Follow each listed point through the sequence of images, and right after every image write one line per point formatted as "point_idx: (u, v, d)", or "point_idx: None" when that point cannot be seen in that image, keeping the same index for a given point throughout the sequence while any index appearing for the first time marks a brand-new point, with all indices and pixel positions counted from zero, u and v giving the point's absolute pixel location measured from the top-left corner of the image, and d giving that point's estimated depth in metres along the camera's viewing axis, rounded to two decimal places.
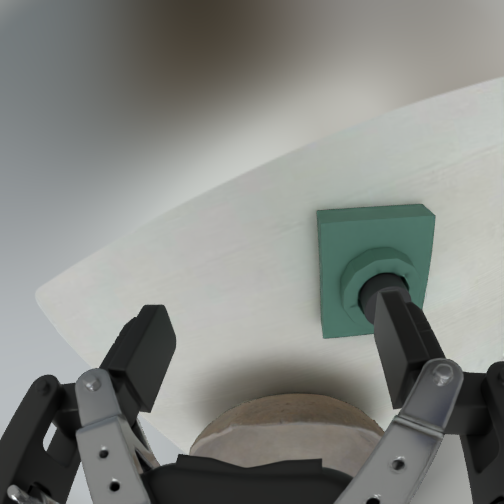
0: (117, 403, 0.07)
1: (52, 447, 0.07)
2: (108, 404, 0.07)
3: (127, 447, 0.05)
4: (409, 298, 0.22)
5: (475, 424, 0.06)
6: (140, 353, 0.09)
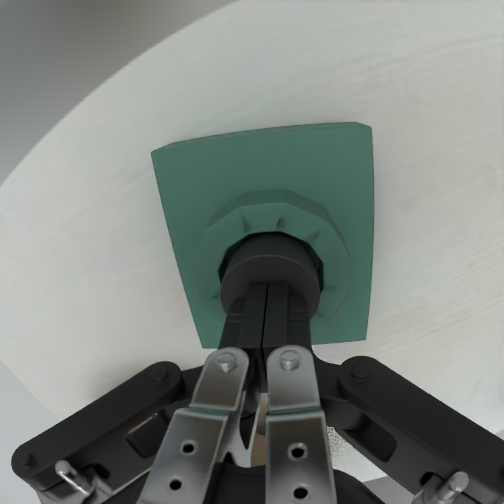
0: (239, 397, 0.07)
1: (144, 429, 0.08)
2: (229, 394, 0.07)
3: (216, 454, 0.05)
4: (312, 282, 0.12)
5: (335, 417, 0.07)
6: (264, 330, 0.10)
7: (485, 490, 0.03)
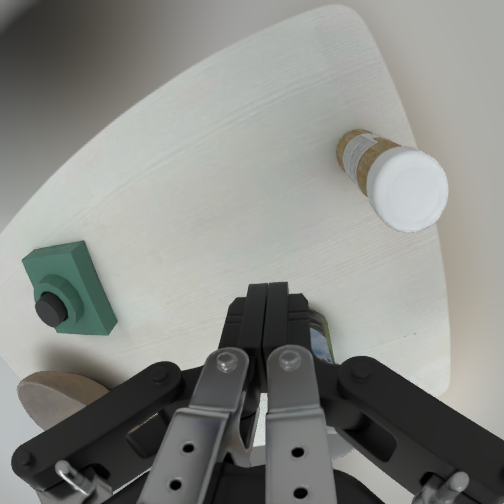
0: (239, 397, 0.07)
1: (144, 429, 0.08)
2: (229, 394, 0.07)
3: (216, 454, 0.05)
4: (53, 309, 0.30)
5: (335, 417, 0.07)
6: (263, 330, 0.10)
7: (485, 490, 0.03)
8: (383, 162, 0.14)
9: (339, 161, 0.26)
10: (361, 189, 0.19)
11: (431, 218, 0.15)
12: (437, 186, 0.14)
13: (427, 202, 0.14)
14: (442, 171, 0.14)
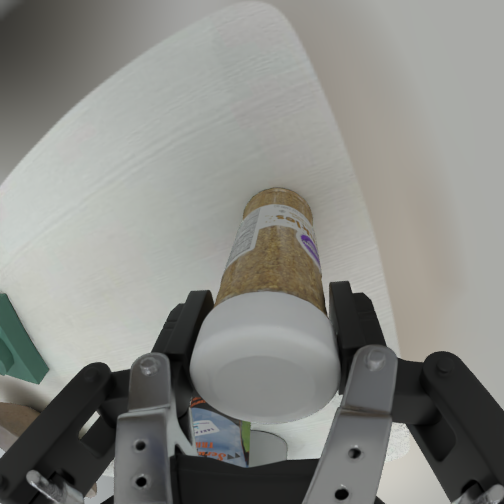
0: (170, 394, 0.07)
1: (91, 433, 0.08)
2: (160, 393, 0.07)
3: (166, 445, 0.05)
4: None
5: (415, 413, 0.07)
6: (194, 336, 0.10)
7: None
8: (202, 338, 0.08)
9: None
10: None
11: (302, 413, 0.09)
12: (312, 379, 0.08)
13: (291, 397, 0.08)
14: (324, 357, 0.08)
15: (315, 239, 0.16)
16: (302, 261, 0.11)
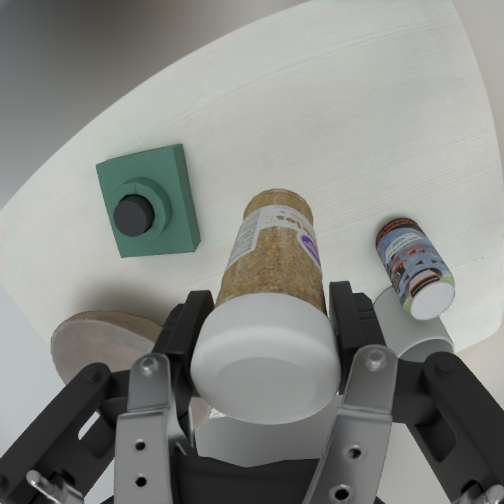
0: (170, 394, 0.07)
1: (91, 433, 0.08)
2: (160, 393, 0.07)
3: (166, 445, 0.05)
4: (141, 211, 0.30)
5: (416, 413, 0.07)
6: (194, 337, 0.10)
7: None
8: (203, 339, 0.08)
9: None
10: None
11: (303, 413, 0.09)
12: (312, 380, 0.08)
13: (292, 398, 0.09)
14: (325, 358, 0.08)
15: (315, 240, 0.16)
16: (302, 262, 0.11)
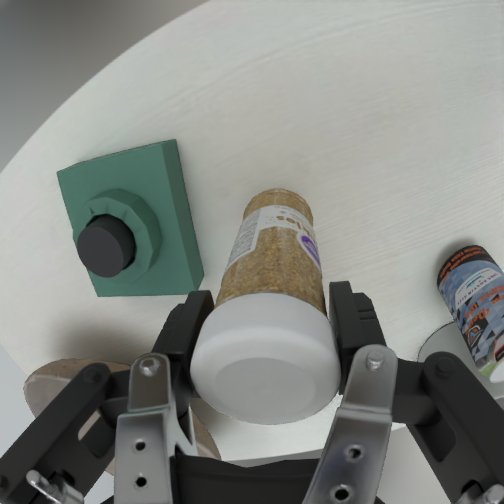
0: (170, 394, 0.07)
1: (91, 433, 0.08)
2: (160, 393, 0.07)
3: (166, 445, 0.05)
4: (115, 242, 0.19)
5: (416, 413, 0.07)
6: (194, 336, 0.10)
7: None
8: (202, 339, 0.08)
9: None
10: None
11: (302, 414, 0.09)
12: (312, 380, 0.08)
13: (291, 399, 0.08)
14: (325, 359, 0.08)
15: (315, 240, 0.16)
16: (302, 262, 0.11)
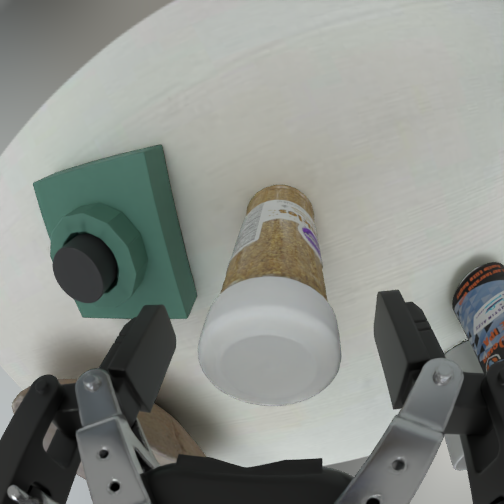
0: (117, 403, 0.07)
1: (52, 447, 0.07)
2: (108, 404, 0.07)
3: (127, 447, 0.05)
4: (93, 265, 0.16)
5: (475, 424, 0.06)
6: (140, 353, 0.09)
7: None
8: (210, 320, 0.09)
9: None
10: None
11: (305, 394, 0.10)
12: (313, 358, 0.09)
13: (294, 378, 0.09)
14: (325, 337, 0.08)
15: (316, 233, 0.16)
16: (303, 251, 0.12)
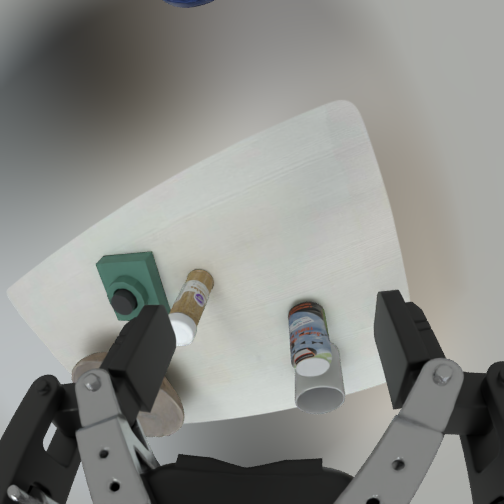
0: (117, 403, 0.07)
1: (52, 447, 0.07)
2: (108, 404, 0.07)
3: (127, 447, 0.05)
4: (128, 302, 0.46)
5: (475, 424, 0.06)
6: (140, 353, 0.09)
7: None
8: None
9: None
10: None
11: (187, 342, 0.39)
12: (185, 332, 0.38)
13: (183, 337, 0.39)
14: (187, 327, 0.38)
15: (206, 292, 0.46)
16: (191, 303, 0.42)
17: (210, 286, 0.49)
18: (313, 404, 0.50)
